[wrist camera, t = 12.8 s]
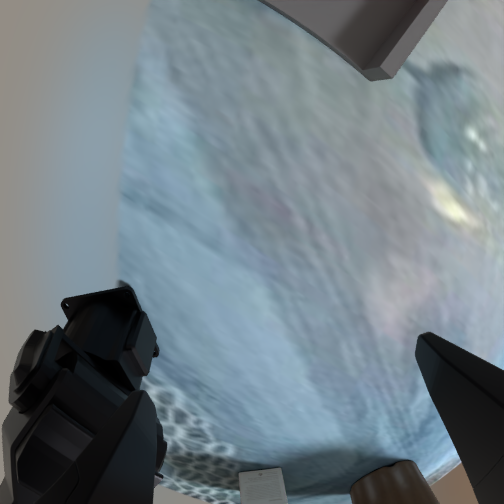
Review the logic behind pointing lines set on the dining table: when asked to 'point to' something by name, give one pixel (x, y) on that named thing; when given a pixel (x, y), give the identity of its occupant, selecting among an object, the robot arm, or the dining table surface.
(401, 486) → the plant pot
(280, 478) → the small box
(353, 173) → the dining table surface
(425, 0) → the tray
